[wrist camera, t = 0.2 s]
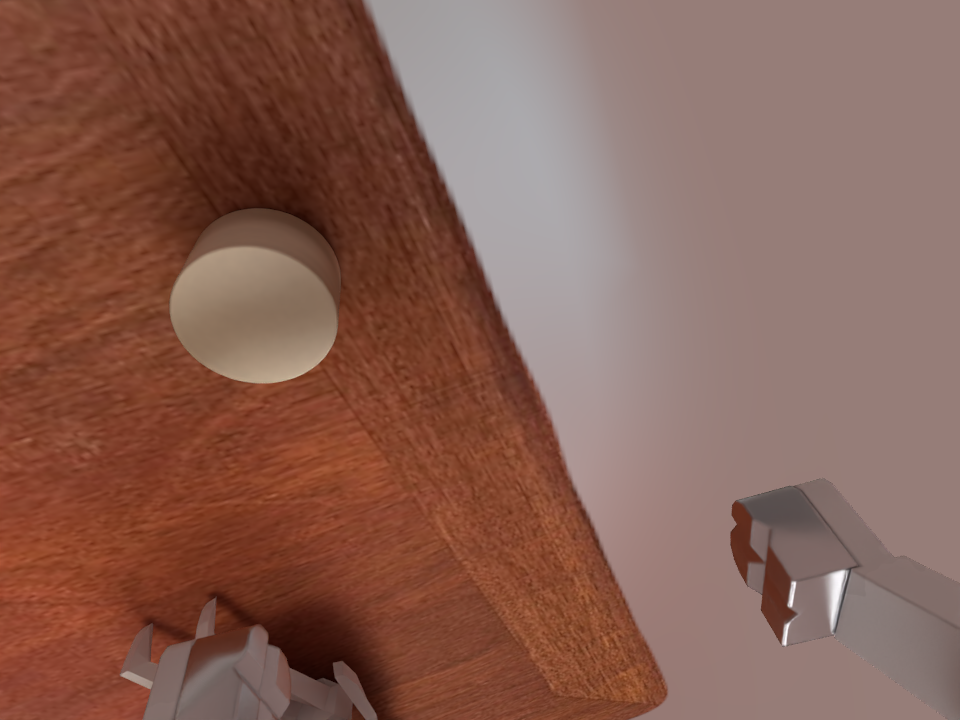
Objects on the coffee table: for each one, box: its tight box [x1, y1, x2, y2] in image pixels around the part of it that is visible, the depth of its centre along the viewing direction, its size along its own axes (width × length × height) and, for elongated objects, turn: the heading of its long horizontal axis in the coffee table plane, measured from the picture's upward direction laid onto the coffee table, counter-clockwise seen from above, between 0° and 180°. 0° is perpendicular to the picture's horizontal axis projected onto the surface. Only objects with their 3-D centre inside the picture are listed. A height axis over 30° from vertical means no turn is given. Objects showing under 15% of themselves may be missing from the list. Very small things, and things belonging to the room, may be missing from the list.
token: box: [169, 208, 341, 383], centre depth 21 cm, size 5×5×3 cm
